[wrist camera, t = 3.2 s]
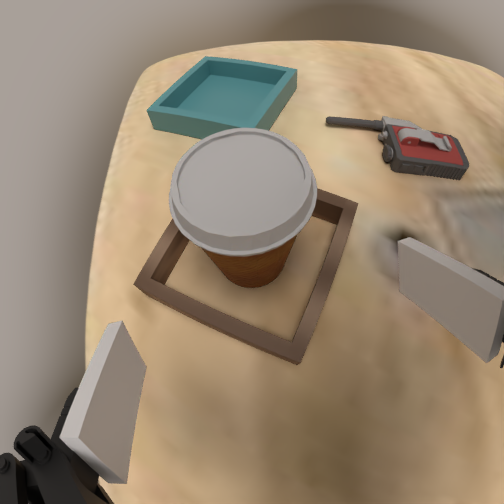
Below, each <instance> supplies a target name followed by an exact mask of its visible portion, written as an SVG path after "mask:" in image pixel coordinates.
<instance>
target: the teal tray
mask: <svg viewBox="0 0 504 504" xmlns="http://www.w3.org/2000/svg"><path fill="white" fill-rule="evenodd" d="M296 89H297V69H293V68H288V67H282V66H277V65H271V64H265V63H259V62H252V61H245V60H237V59H228V58H218V57H206V56H205V57H204V58H203V59H202V60H201V61H199V62H198V63H197V64H196V65H195V66H193V67H192V68H191V69H190V70H189V71H188V72H186V73H185V74H184V75H183V76H182V77H181V78H180V79H179V80H178V81H176V82H175V83H174V84H173V85H172V86H171V87H170V88H169V89H168V90H167V91H166V92H165V93H164V94H163V95H161V96H160V97H159V98H158V99H157V100H156V101H155V102H154V103H153V104H152V105H151V106H150V107H149V108H148V109H147V112H148V115H149V118H150V120H151V123H152V125H153V128H154V129H156V130H161V131H166V132H171V133H176V134H181V135H186V136H190V137H195V138H199V139H204V138H206V137H208V136H210V135H212V134H215V133H218V132H221V131H224V130H229V129H235V128H258V129H264V130H268V131H269V129H270V128H271V126H272V125H273V123H274V122H275V120H276V119H277V117H278V116H279V114H280V113H281V111H282V109H283V108H284V106H285V105H286V103H287V102H288V100H289V99H290V98H291V96H292V95H293V93H294V92H295V90H296Z"/></svg>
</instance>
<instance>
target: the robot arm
mask: <svg viewBox="0 0 504 504" xmlns="http://www.w3.org/2000/svg"><path fill="white" fill-rule="evenodd" d="M398 258H399V291H400V292H401V293H402V294H403V295H405V296H406V297H407V298H409V299H410V300H411V301H412V302H414V303H415V304H416V305H417V306H419V307H420V308H421V309H422V310H424V311H425V312H426V313H427V314H429V315H430V316H431V317H432V318H434V319H435V320H436V321H437V322H439V323H440V324H441V325H442V326H443V327H445V328H446V329H447V330H448V331H449V332H451V333H452V334H453V335H454V336H455V337H457V338H458V339H459V340H460V341H461V342H462V343H464V344H465V345H466V346H467V347H468V348H469V349H471V350H472V351H473V352H474V353H475V354H476V355H478V356H479V357H480V358H481V359H482V360H483V361H484V362H485V363H487V362H489V361H490V360H491V359H493V358H494V357H495V356H496V355H498V353H499V350H500V347H501V343H502V342H504V283H503V282H501V281H499V280H497V279H496V278H494V277H492V276H491V277H490V275H489V274H487V273H485V272H483V271H481V270H477V269H473V268H470V267H468V266H466V265H465V264H463V263H461V262H459V261H457V260H455V259H453V258H451V257H449V256H447V255H445V254H443V253H441V252H439V251H437V250H435V249H433V248H431V247H429V246H427V245H425V244H423V243H421V242H419V241H417V240H415V239H413V238H410V237H409V238H406V239H403V240H400V241H398ZM503 365H504V356H503V359H502V361H501V365H500V368H503ZM145 372H146V365H145V363H144V361H143V360H142V358H141V356H140V354H139V352H138V350H137V348H136V347H135V345H134V343H133V341H132V339H131V337H130V335H129V333H128V331H127V329H126V327H125V325H124V323H123V321H118V322H114V323H110V324H108V325H107V327H106V329H105V331H104V334H103V336H102V338H101V340H100V342H99V344H98V346H97V348H96V350H95V352H94V355H93V357H92V359H91V361H90V363H89V366H88V368H87V370H86V372H85V375H84V377H83V379H82V381H81V384H80V386H79V388H75V389H74V390H73V391H72V393H71V394H70V395H69V396H68V398H67V400H66V402H65V405H64V408H63V410H62V412H61V416H60V417H59V419H58V422H57V425H56V427H55V430H54V432H53V435H52V437H51V439H50V438H49V437H48V436H47V435H46V434H45V433H44V432H43V431H42V430H41V429H40V428H39V427H37V426H29V427H26V428H24V429H23V430H22V431H21V432H20V433H19V434H18V435H17V437H16V439H15V442H14V449H15V450H16V451H17V452H18V453H19V454H20V455H21V456H22V457H23V458H24V459H25V460H23V461H19V460H18V459H17V458H16V457H14V456H13V455H12V454H10V453H4V454H2V455H0V504H114V503H113V502H112V500H111V499H110V497H109V496H108V495H107V493H106V492H105V490H104V489H103V487H102V486H100V485H99V484H98V478H99V476H100V477H102V478H103V479H104V480H105V481H106V482H108V483H117V484H127V478H128V471H129V463H130V456H131V449H132V443H133V436H134V430H135V424H136V419H137V413H138V407H139V402H140V397H141V392H142V387H143V382H144V377H145Z"/></svg>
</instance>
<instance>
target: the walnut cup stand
mask: <svg viewBox="0 0 504 504" xmlns="http://www.w3.org/2000/svg"><path fill="white" fill-rule="evenodd" d="M357 206H358V203H356V202H353V201H351V200H348V199H345V198H343V197H340V196H337V195H335V194H332V193H329V192H326V191H323V190H320V189H318V188H317V199H316V204H315V208H314V210H313V212H312V216H315V217H318V218H321V219H323V220H326V221H329V222H331V223H334V224H337V228H336V231H335V233H334V236H333V239H332V242H331V245H330V247H329V250H328V253H327V256H326V258H325V261H324V264H323V266H322V269H321V272H320V274H319V277H318V279H317V282H316V285H315V287H314V290H313V292H312V295H311V297H310V300H309V302H308V305H307V307H306V310H305V312H304V315H303V317H302V319H301V322H300V324H299V327H298V329H297V331H296V334H295V336H294V338H293V341H292V342H289V341H287V340H285V339H282V338H280V337H277V336H275V335H272V334H270V333H268V332H265V331H263V330H261V329H258V328H256V327H254V326H251V325H249V324H247V323H244V322H242V321H240V320H238V319H235V318H233V317H231V316H229V315H226V314H224V313H222V312H220V311H217V310H215V309H213V308H211V307H209V306H207V305H204V304H202V303H200V302H198V301H196V300H194V299H192V298H190V297H188V296H185V295H183V294H181V293H179V292H177V291H175V290H173V289H171V288H169V287H167V286H165V285H164V284H165V282H166V280H167V279H168V277H169V275H170V273H171V271H172V270H173V268H174V266H175V264H176V263H177V261H178V259H179V257H180V256H181V254H182V252H183V250H184V249H185V247H186V245H187V244H188V242H189V239H188V238H187V237H186V236H184V235H183V234H182V233H181V231H180V230H179V228H178V227H177V225H176V224H175V222H174V220H173V219H172V220H171V222H170V224H169V225H168V227H167V228H166V230H165V232H164V233H163V235H162V237H161V238H160V240H159V241H158V243H157V245H156V246H155V248H154V250H153V251H152V253H151V255H150V256H149V258H148V260H147V262H146V263H145V265H144V267H143V268H142V270H141V272H140V274H139V275H138V277H137V279H136V281H135V282H134V285H135V286H136V287H137V288H138V289H140V290H141V291H142V292H143V293H145V294H146V295H148V296H149V297H151V298H153V299H155V300H157V301H159V302H161V303H163V304H165V305H167V306H168V307H170V308H172V309H174V310H176V311H178V312H180V313H182V314H184V315H186V316H188V317H190V318H192V319H194V320H196V321H198V322H200V323H202V324H205V325H207V326H209V327H211V328H213V329H215V330H217V331H219V332H221V333H224V334H226V335H228V336H230V337H232V338H235V339H237V340H239V341H241V342H243V343H246V344H248V345H250V346H253V347H255V348H257V349H260V350H262V351H264V352H267V353H269V354H271V355H274V356H276V357H279V358H281V359H283V360H286V361H288V362H291V363H293V364H296V365H298V364H299V363H301V360H302V358H303V356H304V353H305V351H306V348H307V346H308V344H309V341H310V339H311V336H312V334H313V332H314V329H315V327H316V324H317V322H318V319H319V316H320V314H321V311H322V309H323V306H324V303H325V301H326V298H327V296H328V293H329V290H330V287H331V285H332V282H333V279H334V276H335V274H336V271H337V268H338V265H339V262H340V259H341V256H342V253H343V250H344V247H345V244H346V241H347V238H348V235H349V232H350V229H351V226H352V222H353V219H354V216H355V213H356V209H357Z"/></svg>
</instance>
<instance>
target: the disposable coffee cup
mask: <svg viewBox="0 0 504 504" xmlns="http://www.w3.org/2000/svg"><path fill="white" fill-rule="evenodd" d="M316 199H317V185H316V179H315V177H314V174H313V171H312V169H311V168H310V166H309V164H308V161H307V159H306V157H305V155H304V154H303V153H302V152H301V150H300V149H299V148H298V147H297V146H296V145H295V144H294V143H292V142H291V141H290V140H288V139H287V138H285V137H283V136H281V135H279V134H277V133H274V132H271V131H268V130H264V129H258V128H235V129H229V130H224V131H221V132H218V133H215V134H212V135H210V136H208V137H206V138H204V139H202V140H201V141H199V142H197V143H196V144H195V145H194V146H192V147H191V148H190V149H189V150H188V151H187V152H186V153H185V154H184V155H183V156H182V157H181V159H180V160H179V162H178V163H177V165H176V167H175V170H174V172H173V175H172V181H171V189H170V193H169V206H170V212H171V215H172V217H173V220H174V222H175V224H176V225H177V227H178V228H179V230H180V231H181V233H182V234H183V235H184V236H186V237H187V238H188V239H189V240H190V241H192V242H193V243H194V244H195V245H197V246H199V247H201V248H202V249H203V250H204V251H205V252H206V254H207V255H208V256H209V257H210V258H211V259H212V261H213V262H214V263H215V264H216V265H217V267H218V268H219V269H220V270H221V271H222V272H223V273H224V275H225V276H226V277H227V278H228V279H229V280H230V281H232V282H233V283H235V284H237V285H239V286H242V287H247V288H255V287H261V286H263V285H266V284H268V283H270V282H272V281H273V280H274V279H275V278H276V277H277V276H278V275H279V274H280V272H281V271H282V269H283V267H284V264H285V262H286V259H287V257H288V255H289V252H290V250H291V248H292V246H293V243H294V241H295V238H296V236H297V234H298V233H299V232H300V231H301V230H302V228H303V227H304V226H305V225H306V223H307V222H308V221H309V219H310V217H311V215H312V212H313V210H314V208H315V204H316Z"/></svg>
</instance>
